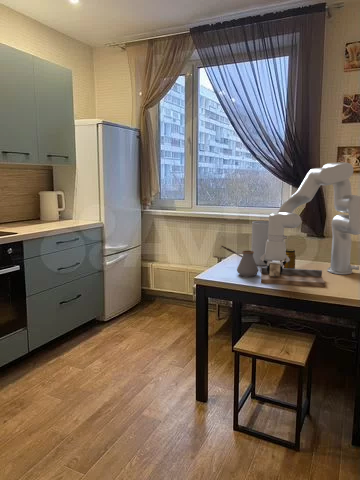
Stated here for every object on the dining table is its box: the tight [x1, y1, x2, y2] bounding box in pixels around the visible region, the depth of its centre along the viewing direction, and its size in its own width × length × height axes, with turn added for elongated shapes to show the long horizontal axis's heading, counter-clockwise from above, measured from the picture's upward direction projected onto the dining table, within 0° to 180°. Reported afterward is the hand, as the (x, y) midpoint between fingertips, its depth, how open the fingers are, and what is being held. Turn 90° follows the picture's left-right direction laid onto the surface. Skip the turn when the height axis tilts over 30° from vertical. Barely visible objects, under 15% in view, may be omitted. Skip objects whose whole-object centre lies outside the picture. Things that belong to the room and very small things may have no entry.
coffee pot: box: [219, 245, 259, 278], centre depth 198 cm, size 21×12×15 cm, turn 63°
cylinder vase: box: [250, 220, 273, 267], centre depth 219 cm, size 12×12×25 cm
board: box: [260, 266, 326, 288], centre depth 185 cm, size 30×12×5 cm, turn 77°
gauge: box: [269, 261, 280, 277], centre depth 186 cm, size 5×10×6 cm, turn 167°
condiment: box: [283, 248, 296, 269], centre depth 204 cm, size 7×8×12 cm
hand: (274, 272), depth 188 cm, fingers closed on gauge, 5 cm apart
